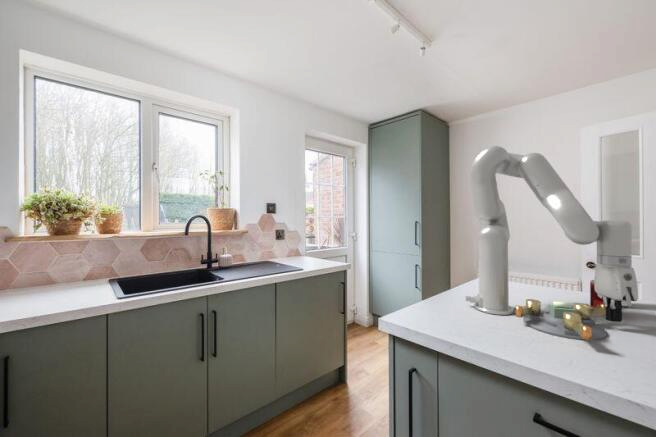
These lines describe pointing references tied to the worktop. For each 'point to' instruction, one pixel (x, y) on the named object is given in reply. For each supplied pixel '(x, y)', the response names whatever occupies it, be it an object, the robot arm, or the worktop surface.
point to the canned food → (594, 296)
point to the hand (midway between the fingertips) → (613, 320)
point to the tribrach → (561, 323)
